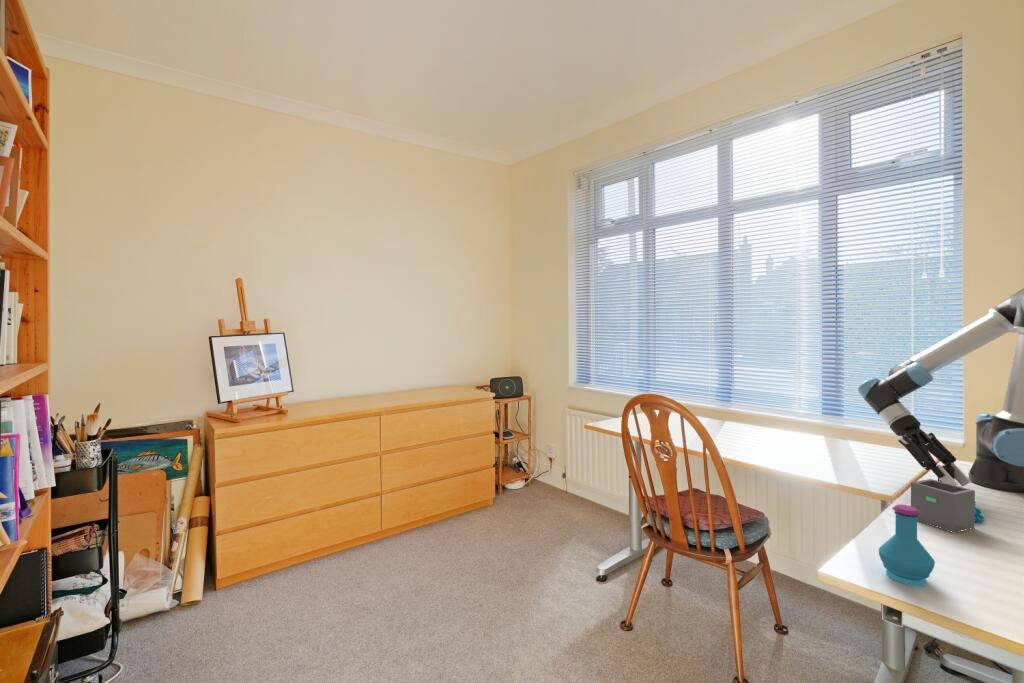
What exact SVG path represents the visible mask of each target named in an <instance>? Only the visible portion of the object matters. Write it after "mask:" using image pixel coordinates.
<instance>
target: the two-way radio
mask: <svg viewBox="0 0 1024 683" xmlns="http://www.w3.org/2000/svg"><path fill="white" fill-rule="evenodd" d="M951 454H952V453H951V451H950V450H948V452H947V462H946V465H944V464H943V465H941V466H942V467H943V468H944V469H945V471H946V472H947V473H948V474H949V475H950V476H951V477H952V478H953V479H954V480H955V481H956V479H955V478H954V472H955V469H954V467H952V466H951ZM937 481H940V482H942V481H941V480H940V479H939V478H938V477H937Z"/></svg>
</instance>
